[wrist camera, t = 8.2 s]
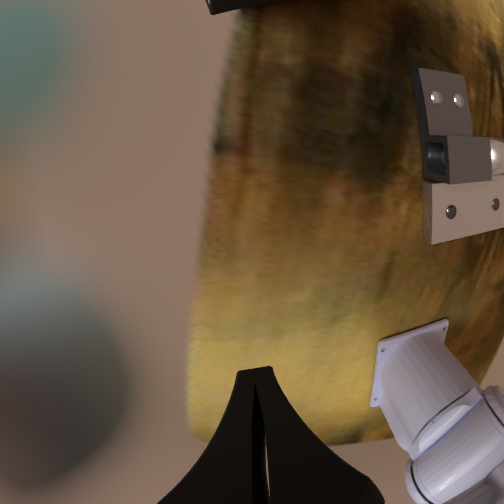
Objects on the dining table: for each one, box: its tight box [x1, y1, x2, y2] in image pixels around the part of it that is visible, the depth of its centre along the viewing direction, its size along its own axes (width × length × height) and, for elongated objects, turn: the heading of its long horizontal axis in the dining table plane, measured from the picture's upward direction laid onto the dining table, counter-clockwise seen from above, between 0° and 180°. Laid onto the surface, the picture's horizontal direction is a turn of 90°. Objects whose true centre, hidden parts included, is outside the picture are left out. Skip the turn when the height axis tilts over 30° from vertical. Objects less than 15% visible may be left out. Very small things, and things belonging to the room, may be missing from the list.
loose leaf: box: [410, 68, 492, 185], centre depth 15 cm, size 8×5×3 cm, turn 10°
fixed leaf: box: [423, 136, 504, 245], centre depth 17 cm, size 8×10×3 cm
